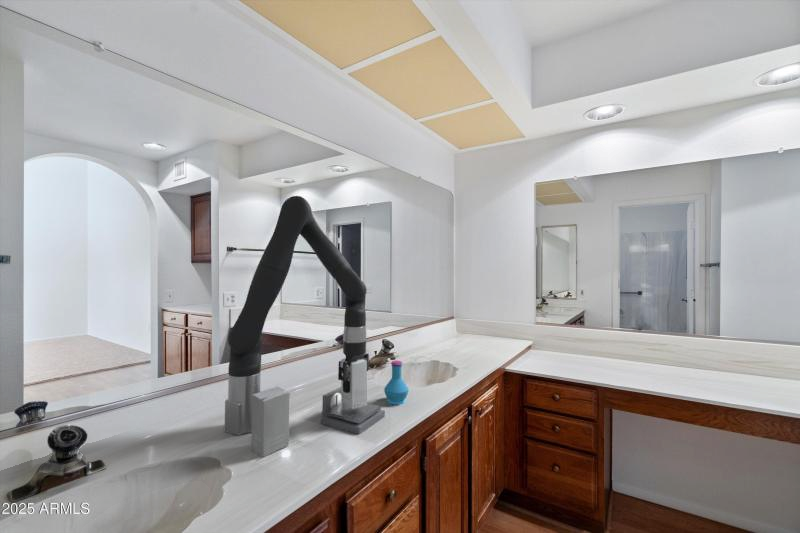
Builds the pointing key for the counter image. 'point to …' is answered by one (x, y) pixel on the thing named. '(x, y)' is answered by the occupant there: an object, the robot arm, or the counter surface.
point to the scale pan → (353, 412)
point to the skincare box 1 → (270, 421)
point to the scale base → (332, 401)
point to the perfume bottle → (396, 385)
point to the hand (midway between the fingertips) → (353, 388)
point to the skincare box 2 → (356, 385)
